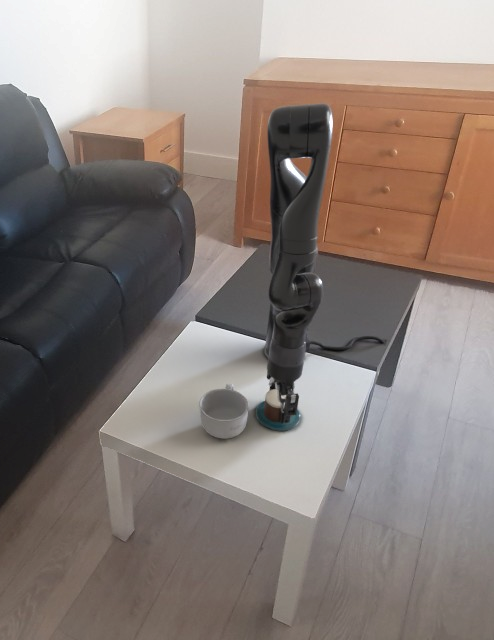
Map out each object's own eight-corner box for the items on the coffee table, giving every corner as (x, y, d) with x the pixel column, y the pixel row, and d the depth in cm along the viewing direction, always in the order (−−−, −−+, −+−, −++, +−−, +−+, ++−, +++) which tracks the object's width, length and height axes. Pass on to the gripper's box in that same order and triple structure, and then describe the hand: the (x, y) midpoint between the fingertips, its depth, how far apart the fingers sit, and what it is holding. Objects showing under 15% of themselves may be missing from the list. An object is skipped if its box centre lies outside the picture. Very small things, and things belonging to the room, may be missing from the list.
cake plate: (291, 399, 144) (291, 396, 143) (305, 428, 136) (306, 426, 135) (250, 403, 144) (251, 400, 143) (262, 432, 136) (263, 430, 135)
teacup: (235, 451, 132) (238, 426, 127) (191, 435, 137) (191, 410, 132) (256, 413, 141) (259, 387, 136) (214, 399, 146) (215, 374, 141)
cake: (285, 403, 142) (287, 387, 139) (293, 421, 137) (296, 405, 134) (260, 405, 142) (262, 390, 139) (267, 423, 137) (269, 407, 134)
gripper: (315, 374, 124) (305, 430, 133) (292, 335, 135) (284, 388, 145) (279, 378, 124) (272, 433, 133) (260, 338, 135) (254, 391, 145)
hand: (278, 410), depth 139 cm, fingers open, 7 cm apart
